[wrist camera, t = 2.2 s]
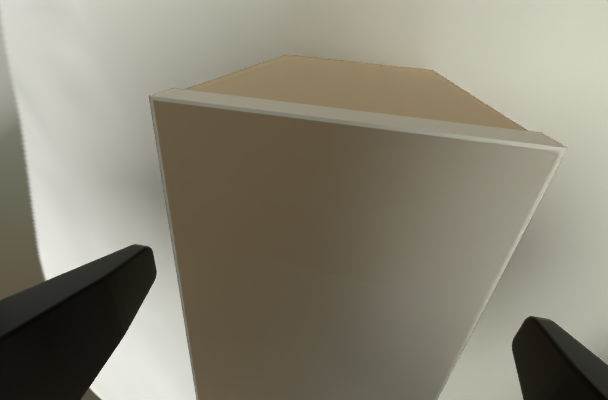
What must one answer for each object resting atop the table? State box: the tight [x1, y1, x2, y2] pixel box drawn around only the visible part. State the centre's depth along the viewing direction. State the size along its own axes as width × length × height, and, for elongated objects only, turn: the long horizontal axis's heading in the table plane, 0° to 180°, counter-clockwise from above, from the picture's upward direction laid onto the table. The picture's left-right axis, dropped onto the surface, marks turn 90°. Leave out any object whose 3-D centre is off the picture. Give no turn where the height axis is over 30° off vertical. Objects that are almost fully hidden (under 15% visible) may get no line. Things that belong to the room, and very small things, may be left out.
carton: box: [149, 55, 567, 400], centre depth 10 cm, size 5×9×8 cm, turn 176°
